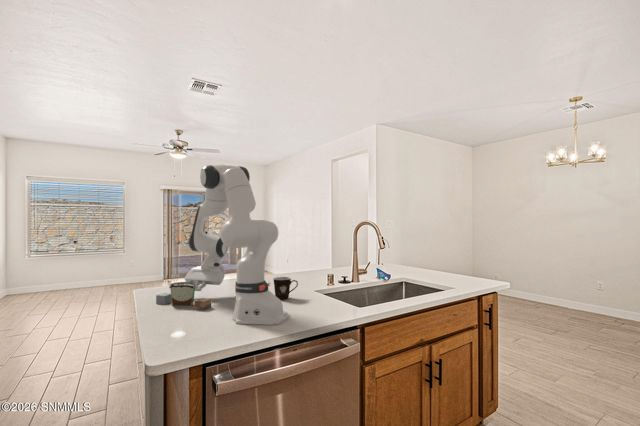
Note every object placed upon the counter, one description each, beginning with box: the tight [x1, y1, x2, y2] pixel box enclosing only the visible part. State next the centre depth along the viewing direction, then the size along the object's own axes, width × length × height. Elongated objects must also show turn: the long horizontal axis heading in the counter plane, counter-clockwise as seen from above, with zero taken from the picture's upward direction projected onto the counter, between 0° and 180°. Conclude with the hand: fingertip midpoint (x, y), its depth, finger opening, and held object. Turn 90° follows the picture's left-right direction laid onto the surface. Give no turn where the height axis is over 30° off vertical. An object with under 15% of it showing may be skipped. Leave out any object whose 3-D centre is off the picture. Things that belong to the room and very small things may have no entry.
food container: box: [169, 281, 197, 308], centre depth 141 cm, size 12×6×10 cm, turn 84°
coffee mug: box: [273, 276, 299, 301], centre depth 151 cm, size 12×9×10 cm
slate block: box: [155, 292, 172, 305], centre depth 145 cm, size 5×5×4 cm
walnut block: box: [193, 297, 212, 311], centre depth 135 cm, size 5×5×4 cm
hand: (197, 290), depth 149 cm, fingers closed
